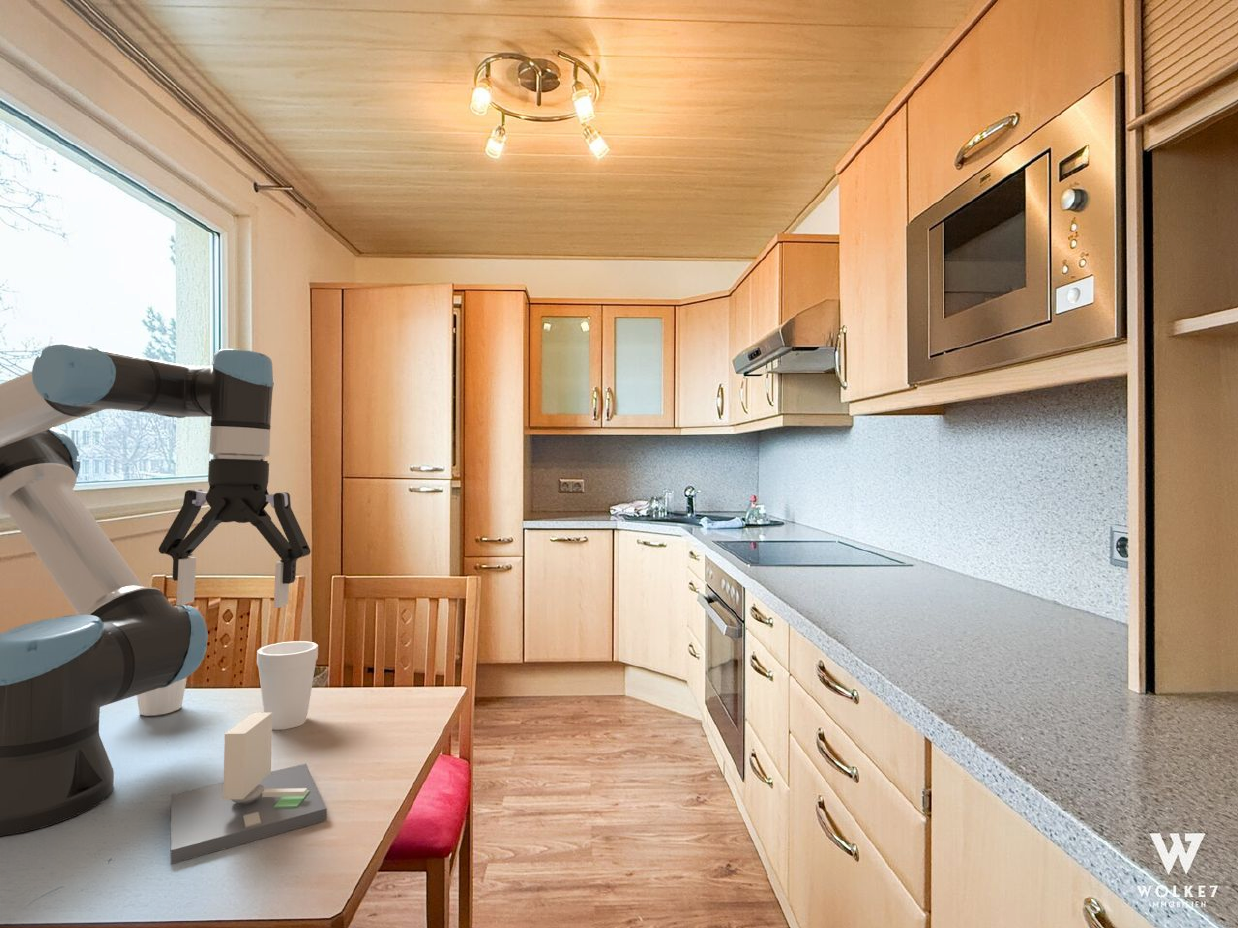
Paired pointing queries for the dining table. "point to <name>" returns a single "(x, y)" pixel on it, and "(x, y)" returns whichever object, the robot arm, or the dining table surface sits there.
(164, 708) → the cup
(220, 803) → the base
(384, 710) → the dining table surface
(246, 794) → the cream angular block
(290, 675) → the foam cup
